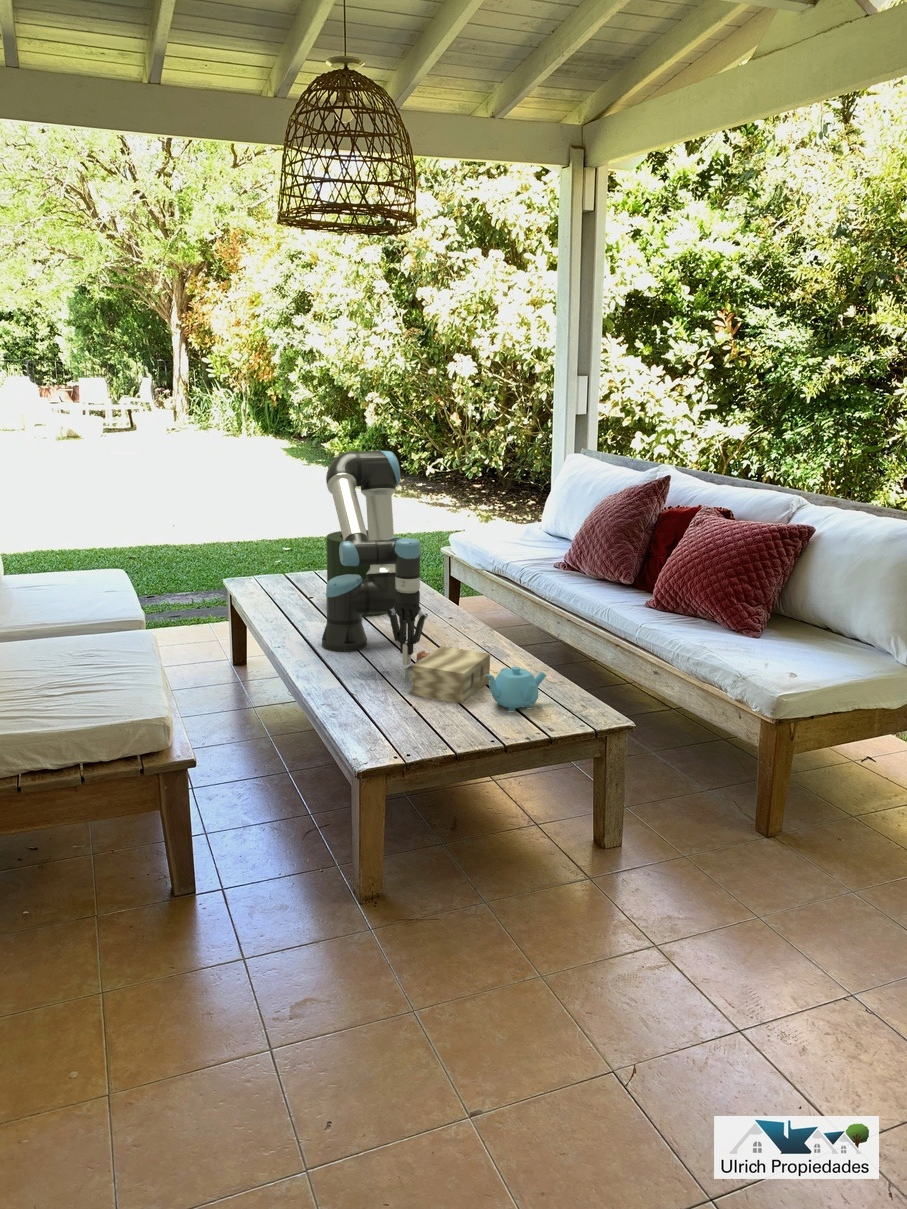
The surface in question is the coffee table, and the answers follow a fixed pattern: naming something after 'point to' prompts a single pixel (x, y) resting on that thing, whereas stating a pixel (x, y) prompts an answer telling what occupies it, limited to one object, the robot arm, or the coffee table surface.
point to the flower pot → (336, 566)
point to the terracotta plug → (421, 655)
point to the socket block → (450, 674)
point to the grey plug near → (408, 674)
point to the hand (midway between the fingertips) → (406, 663)
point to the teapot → (515, 687)
